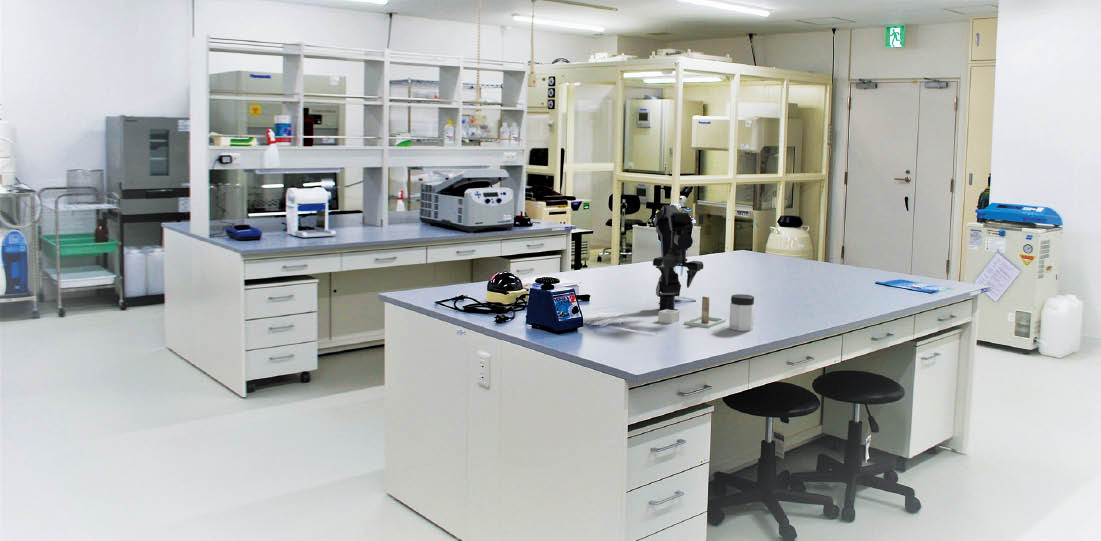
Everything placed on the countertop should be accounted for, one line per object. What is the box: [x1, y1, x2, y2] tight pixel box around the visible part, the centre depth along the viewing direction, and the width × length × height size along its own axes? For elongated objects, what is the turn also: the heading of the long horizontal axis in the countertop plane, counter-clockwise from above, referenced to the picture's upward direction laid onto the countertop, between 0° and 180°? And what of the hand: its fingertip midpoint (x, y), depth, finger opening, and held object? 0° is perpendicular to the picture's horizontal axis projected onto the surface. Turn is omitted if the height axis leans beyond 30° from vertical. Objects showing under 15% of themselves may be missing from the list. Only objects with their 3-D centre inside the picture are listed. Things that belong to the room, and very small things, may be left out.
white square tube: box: [657, 309, 680, 324], centre depth 331 cm, size 6×6×4 cm
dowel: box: [700, 295, 711, 325], centre depth 328 cm, size 3×3×10 cm
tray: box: [683, 315, 727, 329], centre depth 329 cm, size 14×10×2 cm
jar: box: [728, 293, 755, 332], centre depth 323 cm, size 9×8×12 cm
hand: (677, 286), depth 337 cm, fingers open, 9 cm apart
